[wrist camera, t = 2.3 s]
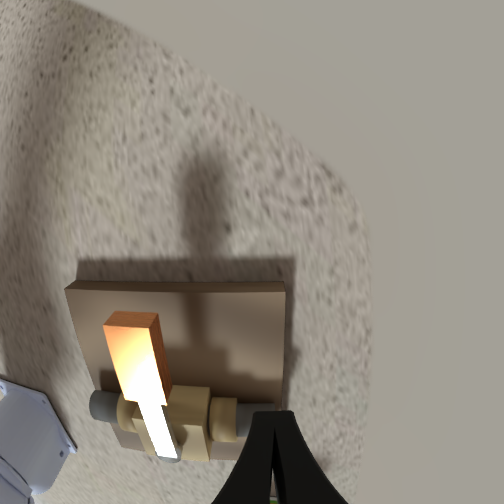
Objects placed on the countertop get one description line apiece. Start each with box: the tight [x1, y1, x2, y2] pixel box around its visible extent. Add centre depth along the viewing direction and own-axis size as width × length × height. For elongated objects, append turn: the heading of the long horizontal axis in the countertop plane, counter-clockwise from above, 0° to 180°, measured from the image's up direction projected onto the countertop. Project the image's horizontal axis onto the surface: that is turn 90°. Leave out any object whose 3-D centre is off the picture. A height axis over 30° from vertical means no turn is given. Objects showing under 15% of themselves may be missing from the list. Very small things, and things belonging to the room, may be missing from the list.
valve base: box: [64, 280, 286, 462], centre depth 18 cm, size 16×14×5 cm
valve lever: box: [103, 311, 183, 463], centre depth 14 cm, size 10×2×1 cm, turn 1°
